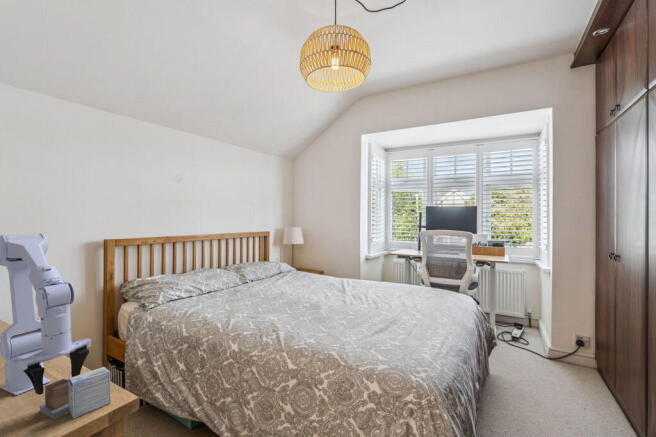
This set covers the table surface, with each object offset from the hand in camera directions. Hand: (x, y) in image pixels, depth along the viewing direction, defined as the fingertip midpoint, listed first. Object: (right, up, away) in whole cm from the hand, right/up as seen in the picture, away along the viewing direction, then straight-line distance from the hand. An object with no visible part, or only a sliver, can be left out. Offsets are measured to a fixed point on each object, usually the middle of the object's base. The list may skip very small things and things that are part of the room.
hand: (58, 385), depth 80 cm
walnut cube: (0, -5, 0) cm, 5 cm away
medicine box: (+8, -6, +1) cm, 10 cm away
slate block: (0, -7, 0) cm, 7 cm away
